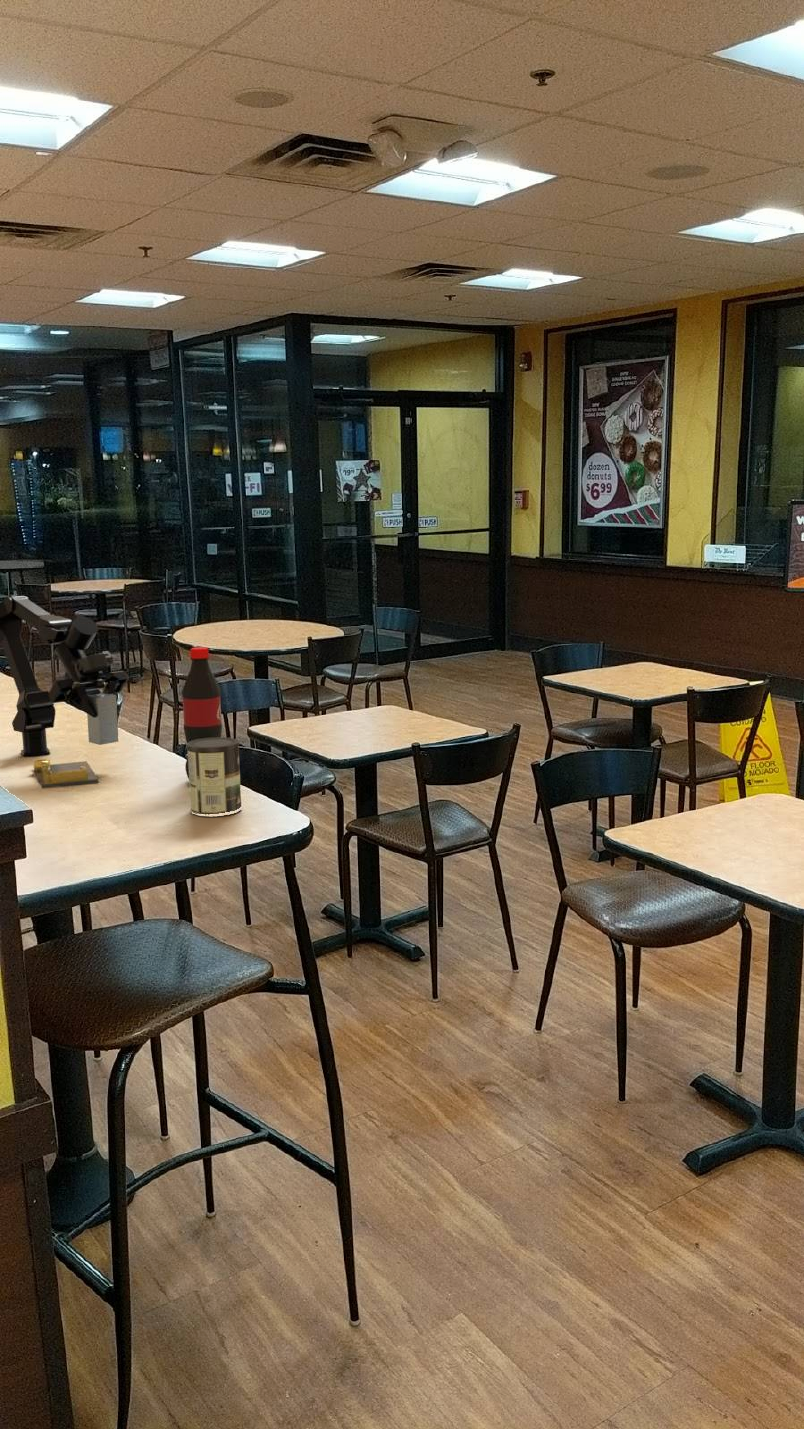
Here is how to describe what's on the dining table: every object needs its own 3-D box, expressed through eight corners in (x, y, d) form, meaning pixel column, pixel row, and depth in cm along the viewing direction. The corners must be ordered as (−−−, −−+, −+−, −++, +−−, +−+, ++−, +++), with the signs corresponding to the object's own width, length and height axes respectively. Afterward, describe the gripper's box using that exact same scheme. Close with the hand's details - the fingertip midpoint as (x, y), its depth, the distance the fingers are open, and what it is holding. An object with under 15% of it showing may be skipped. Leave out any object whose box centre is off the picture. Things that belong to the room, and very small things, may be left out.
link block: (88, 742, 252) (86, 695, 250) (107, 738, 256) (104, 692, 254) (100, 744, 250) (97, 697, 247) (118, 741, 253) (116, 695, 251)
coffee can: (231, 801, 225) (228, 734, 222) (249, 813, 216) (246, 743, 213) (182, 808, 220) (179, 740, 217) (199, 820, 211) (196, 749, 208)
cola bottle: (228, 776, 246) (223, 645, 241) (218, 785, 238) (212, 649, 233) (192, 776, 247) (186, 645, 242) (181, 785, 239) (174, 649, 234)
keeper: (32, 769, 256) (31, 758, 255) (86, 764, 260) (85, 753, 260) (40, 788, 237) (40, 776, 237) (98, 782, 242) (97, 770, 242)
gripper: (52, 644, 244) (83, 698, 239) (122, 637, 258) (152, 688, 253) (35, 675, 250) (65, 728, 246) (104, 666, 264) (134, 716, 259)
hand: (105, 714), depth 251 cm, fingers closed on link block, 5 cm apart
